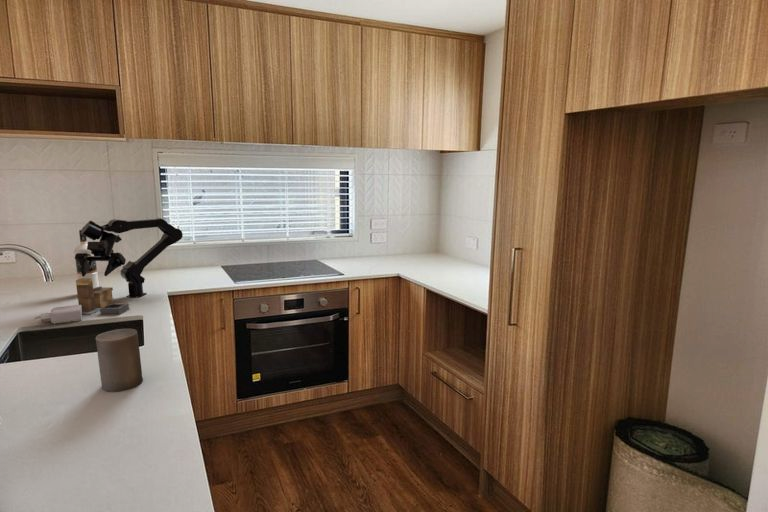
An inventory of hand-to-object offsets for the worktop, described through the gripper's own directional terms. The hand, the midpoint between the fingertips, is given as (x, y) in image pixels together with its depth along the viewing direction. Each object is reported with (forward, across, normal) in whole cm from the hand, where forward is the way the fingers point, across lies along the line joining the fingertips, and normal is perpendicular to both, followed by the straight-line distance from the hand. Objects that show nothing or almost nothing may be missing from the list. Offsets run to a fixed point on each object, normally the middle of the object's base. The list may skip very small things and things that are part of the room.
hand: (93, 275), depth 202 cm
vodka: (-7, -17, +27) cm, 33 cm away
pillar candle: (+63, +50, -44) cm, 92 cm away
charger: (+23, -4, -3) cm, 23 cm away
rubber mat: (+14, 0, +5) cm, 15 cm away
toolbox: (+7, -1, +12) cm, 14 cm away
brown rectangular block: (+14, 0, +5) cm, 14 cm away
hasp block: (+15, +11, +4) cm, 19 cm away
